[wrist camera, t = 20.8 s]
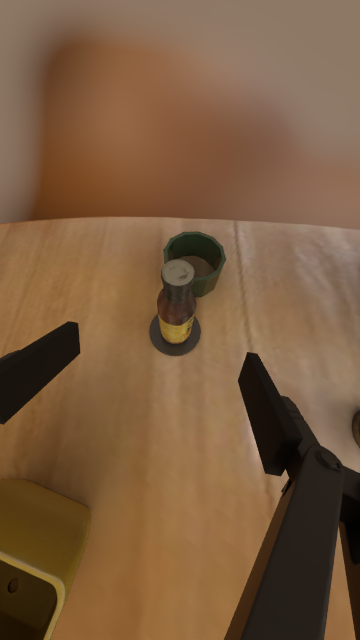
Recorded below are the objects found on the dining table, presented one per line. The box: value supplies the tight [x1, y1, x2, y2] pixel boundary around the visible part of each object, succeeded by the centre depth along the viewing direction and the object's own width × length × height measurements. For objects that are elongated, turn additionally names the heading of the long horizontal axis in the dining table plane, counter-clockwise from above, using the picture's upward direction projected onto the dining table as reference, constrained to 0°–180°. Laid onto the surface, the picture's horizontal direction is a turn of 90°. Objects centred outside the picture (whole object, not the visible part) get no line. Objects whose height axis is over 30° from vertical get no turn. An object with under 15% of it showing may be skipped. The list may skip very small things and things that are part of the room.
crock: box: [164, 232, 226, 297], centre depth 44 cm, size 13×13×7 cm
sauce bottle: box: [157, 259, 196, 344], centre depth 31 cm, size 6×6×20 cm
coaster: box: [150, 314, 201, 356], centre depth 41 cm, size 11×11×1 cm
